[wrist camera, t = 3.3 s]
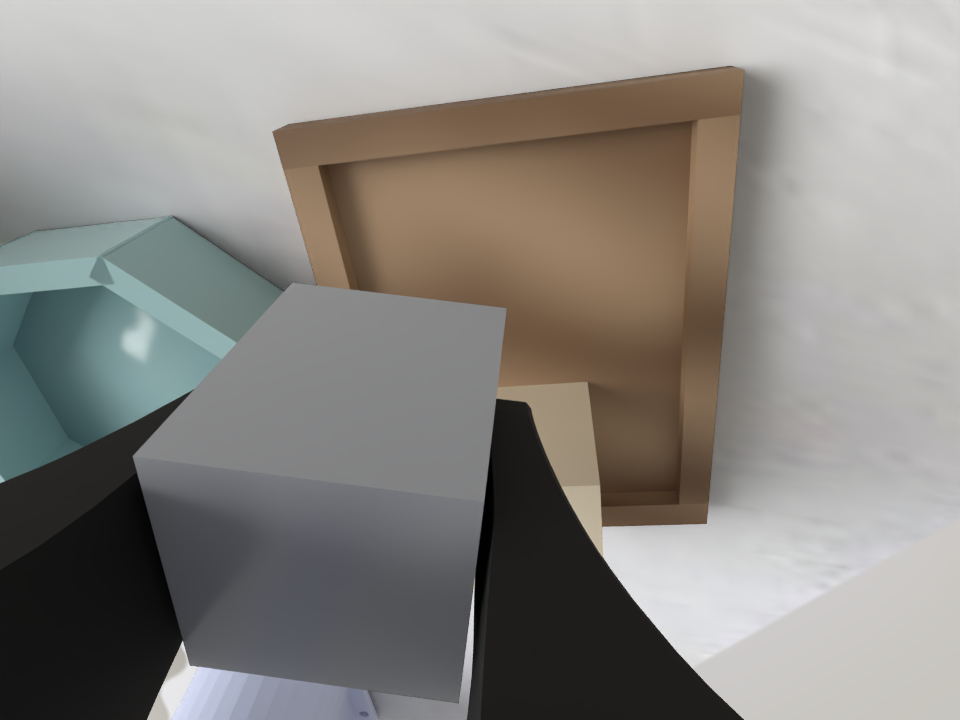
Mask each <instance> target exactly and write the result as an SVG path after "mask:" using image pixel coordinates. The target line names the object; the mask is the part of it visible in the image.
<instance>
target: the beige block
mask: <svg viewBox="0 0 960 720" xmlns="http://www.w3.org/2000/svg"><path fill="white" fill-rule="evenodd" d="M496 399H504V400H513V401H521V402H526V403H527V404H528V405H529V406H530V408H531V410H532V415H533V418H534V422H535V425H536V428H537V431H538V434H539V437H540V440H541V442H542V445H543V447H544V450H545V452H546V455H547V457H548V459H549V462H550V464H551V466H552V468H553V470H554V472H555V474H556V477H557V479H558V481H559V483H560V485H561V487H562V489H563V491H564V493H565V495H566V497H567V499H568V501H569V503H570V504H571V506H572V508H573V510H574V511H575V513H576V515H577V517H578V519H579V520H580V522H581V524H582V526H583V527H584V529H585V530H586V532H587V534H588V535H589V537H590V539H591V540H592V542H593V543H594V545H595V547H596V548H597V550H598V551H599V553H600V554H601V555H602V557H603V545H602V519H601V493H600V480H599V472H598V463H597V455H596V447H595V439H594V431H593V423H592V414H591V406H590V398H589V390H588V382H577V383H560V384H544V385H528V386H511V387H497V396H496ZM473 589H475V579H474V587H473Z"/></svg>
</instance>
